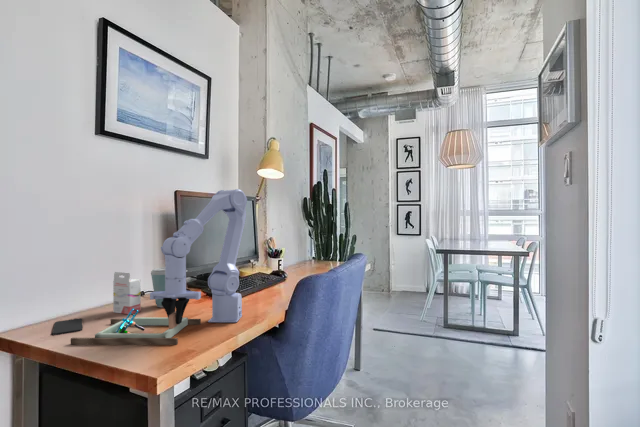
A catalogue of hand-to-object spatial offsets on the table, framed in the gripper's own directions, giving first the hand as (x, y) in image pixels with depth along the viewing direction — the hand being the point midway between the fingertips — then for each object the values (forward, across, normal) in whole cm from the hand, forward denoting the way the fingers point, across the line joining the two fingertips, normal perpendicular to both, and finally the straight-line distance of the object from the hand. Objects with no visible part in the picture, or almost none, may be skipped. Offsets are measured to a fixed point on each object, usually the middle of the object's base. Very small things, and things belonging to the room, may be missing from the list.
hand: (175, 323), depth 103 cm
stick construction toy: (+3, -13, -1) cm, 14 cm away
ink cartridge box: (+3, -28, +23) cm, 36 cm away
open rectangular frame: (+3, -9, 0) cm, 10 cm away
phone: (+4, -37, +6) cm, 37 cm away
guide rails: (+3, -10, 0) cm, 11 cm away
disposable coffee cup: (+3, -18, +32) cm, 37 cm away
